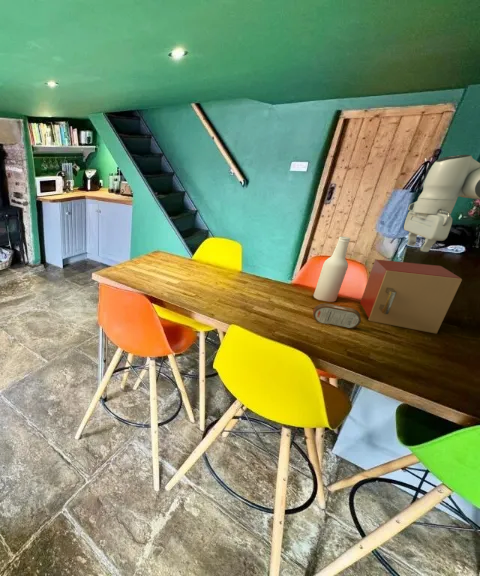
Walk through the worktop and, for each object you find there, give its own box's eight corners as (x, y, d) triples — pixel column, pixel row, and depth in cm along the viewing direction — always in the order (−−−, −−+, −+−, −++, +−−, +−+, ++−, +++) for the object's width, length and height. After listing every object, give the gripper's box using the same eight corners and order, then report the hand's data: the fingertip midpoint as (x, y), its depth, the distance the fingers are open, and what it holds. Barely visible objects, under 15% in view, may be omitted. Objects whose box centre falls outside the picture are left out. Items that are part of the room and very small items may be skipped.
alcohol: (310, 299, 143) (330, 237, 132) (315, 294, 148) (335, 234, 137) (332, 305, 137) (355, 240, 125) (337, 300, 142) (359, 237, 131)
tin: (356, 329, 117) (363, 309, 114) (357, 332, 115) (365, 312, 111) (310, 319, 124) (316, 300, 121) (310, 322, 122) (316, 303, 118)
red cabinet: (435, 332, 114) (460, 278, 106) (367, 320, 123) (386, 269, 115) (419, 315, 127) (440, 265, 119) (359, 306, 136) (375, 259, 128)
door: (443, 340, 108) (470, 284, 100) (371, 327, 118) (391, 275, 110) (435, 332, 114) (460, 278, 106) (367, 320, 123) (386, 270, 115)
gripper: (465, 212, 91) (446, 256, 96) (430, 205, 108) (415, 242, 113) (437, 211, 93) (420, 254, 98) (407, 204, 110) (393, 241, 116)
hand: (417, 248), depth 106 cm, fingers open, 8 cm apart
